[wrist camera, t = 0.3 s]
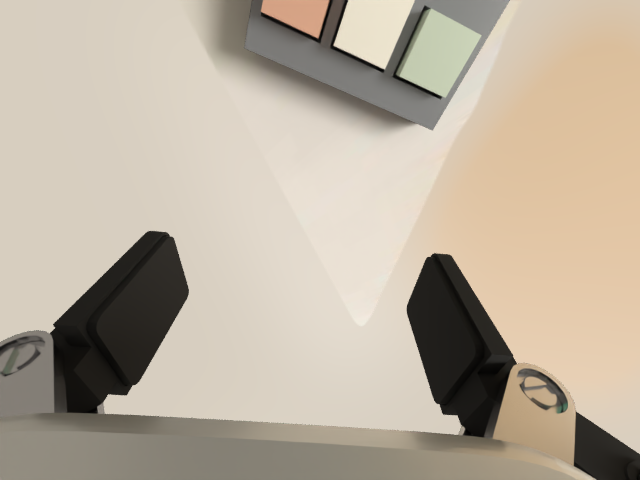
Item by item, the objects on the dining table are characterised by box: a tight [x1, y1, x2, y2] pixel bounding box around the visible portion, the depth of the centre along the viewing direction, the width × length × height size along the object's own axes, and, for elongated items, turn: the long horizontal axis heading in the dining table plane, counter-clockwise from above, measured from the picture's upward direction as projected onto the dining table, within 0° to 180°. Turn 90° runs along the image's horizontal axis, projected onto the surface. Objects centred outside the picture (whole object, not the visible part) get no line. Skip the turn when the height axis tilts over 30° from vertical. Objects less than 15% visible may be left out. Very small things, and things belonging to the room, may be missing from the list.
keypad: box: [244, 0, 510, 130], centre depth 27 cm, size 12×22×4 cm, turn 70°
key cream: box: [333, 0, 415, 69], centre depth 25 cm, size 5×5×3 cm
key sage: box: [394, 9, 482, 98], centre depth 26 cm, size 5×5×3 cm
